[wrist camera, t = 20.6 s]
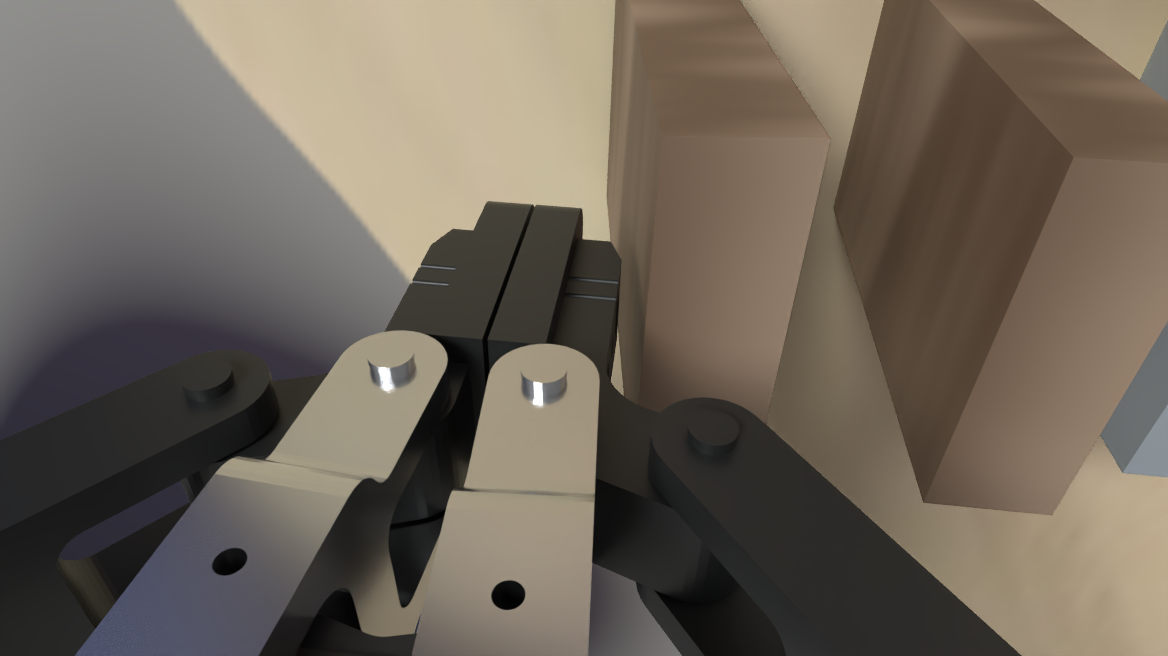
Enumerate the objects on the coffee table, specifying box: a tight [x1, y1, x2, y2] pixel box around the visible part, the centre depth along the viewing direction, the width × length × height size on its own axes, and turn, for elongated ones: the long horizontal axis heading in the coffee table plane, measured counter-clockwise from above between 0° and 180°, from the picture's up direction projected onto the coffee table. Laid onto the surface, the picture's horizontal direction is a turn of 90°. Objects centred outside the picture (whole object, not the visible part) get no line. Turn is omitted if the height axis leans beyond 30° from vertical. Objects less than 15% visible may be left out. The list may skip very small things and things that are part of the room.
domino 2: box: [834, 0, 1168, 515], centre depth 15 cm, size 2×6×10 cm, turn 179°
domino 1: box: [607, 0, 831, 424], centre depth 15 cm, size 2×6×10 cm, turn 178°
